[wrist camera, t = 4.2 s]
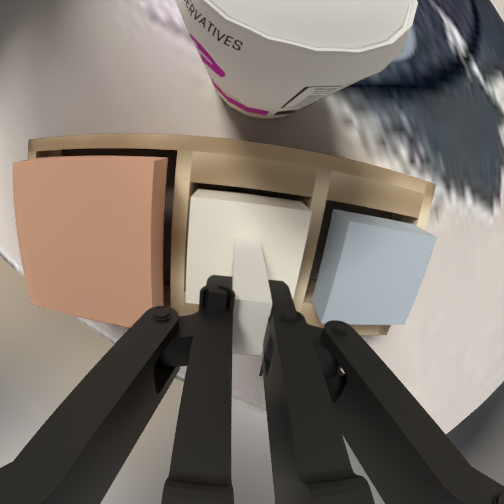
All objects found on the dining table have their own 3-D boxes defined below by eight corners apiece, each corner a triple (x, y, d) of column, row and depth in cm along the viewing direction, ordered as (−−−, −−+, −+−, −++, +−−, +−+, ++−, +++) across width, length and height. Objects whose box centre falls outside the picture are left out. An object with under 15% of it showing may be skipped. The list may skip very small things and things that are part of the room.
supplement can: (211, 119, 19) (150, 73, 5) (214, 27, 16) (183, -101, 2) (316, 123, 20) (443, 103, 6) (316, 32, 17) (406, -69, 3)
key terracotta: (48, 155, 17) (13, 162, 12) (173, 156, 18) (154, 160, 13) (57, 279, 21) (31, 304, 17) (167, 297, 22) (154, 331, 17)
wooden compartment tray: (55, 137, 19) (28, 139, 15) (409, 176, 21) (435, 184, 18) (62, 277, 24) (42, 296, 20) (370, 311, 26) (386, 334, 23)
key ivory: (201, 185, 20) (190, 196, 15) (297, 196, 20) (311, 211, 16) (194, 272, 22) (185, 302, 18) (281, 281, 23) (289, 312, 19)
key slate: (326, 204, 19) (349, 221, 15) (404, 219, 20) (436, 237, 16) (307, 290, 22) (321, 323, 18) (380, 295, 22) (404, 324, 18)
